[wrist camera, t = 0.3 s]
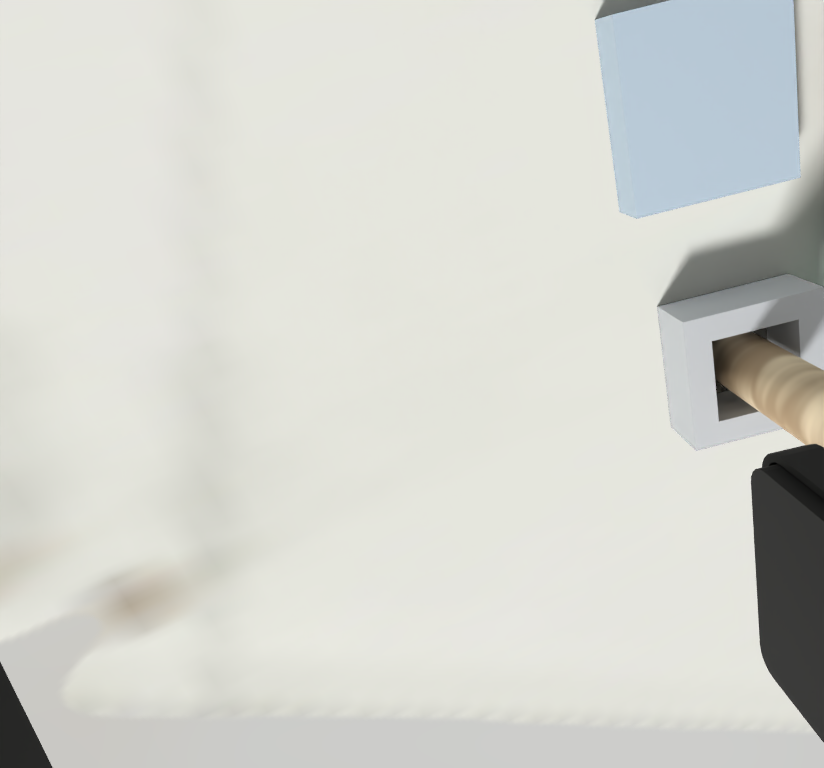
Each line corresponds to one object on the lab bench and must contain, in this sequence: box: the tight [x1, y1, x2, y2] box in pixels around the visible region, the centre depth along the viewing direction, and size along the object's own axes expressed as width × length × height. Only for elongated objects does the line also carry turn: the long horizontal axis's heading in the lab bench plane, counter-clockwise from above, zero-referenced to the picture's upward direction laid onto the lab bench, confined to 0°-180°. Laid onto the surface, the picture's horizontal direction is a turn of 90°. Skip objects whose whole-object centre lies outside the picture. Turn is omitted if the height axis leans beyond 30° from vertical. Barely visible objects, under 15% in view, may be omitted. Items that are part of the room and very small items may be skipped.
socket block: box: [657, 274, 824, 451], centre depth 45 cm, size 8×8×4 cm
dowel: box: [712, 332, 824, 447], centre depth 41 cm, size 4×4×12 cm
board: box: [595, 0, 801, 219], centre depth 40 cm, size 10×9×3 cm
